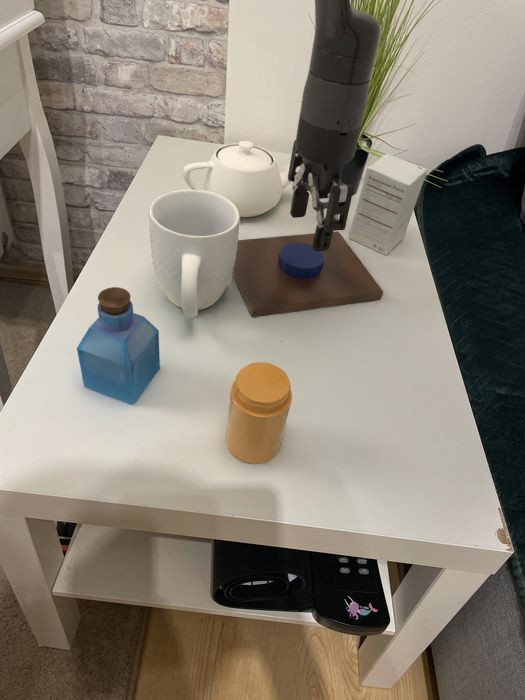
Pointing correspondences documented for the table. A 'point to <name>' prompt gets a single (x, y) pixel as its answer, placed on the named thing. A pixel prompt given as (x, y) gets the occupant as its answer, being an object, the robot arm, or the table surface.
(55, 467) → the table surface
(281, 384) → the jar
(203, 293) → the mug
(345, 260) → the board
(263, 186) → the teapot
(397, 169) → the white packaging box
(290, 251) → the jar lid
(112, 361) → the perfume bottle
